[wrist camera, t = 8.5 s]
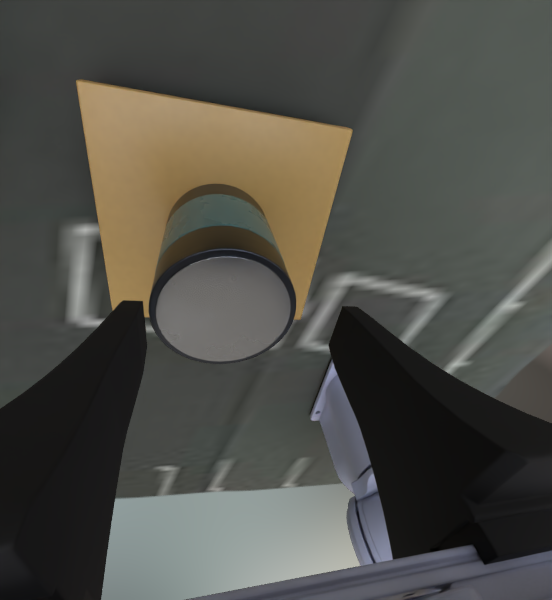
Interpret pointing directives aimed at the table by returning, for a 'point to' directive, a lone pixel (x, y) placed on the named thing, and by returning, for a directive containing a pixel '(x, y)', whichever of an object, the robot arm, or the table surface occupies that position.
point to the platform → (202, 176)
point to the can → (220, 279)
